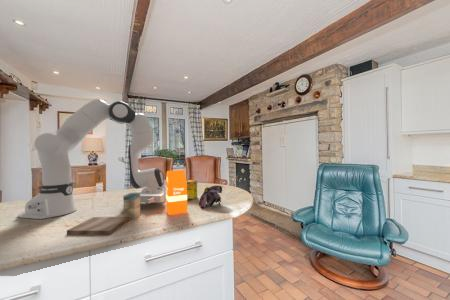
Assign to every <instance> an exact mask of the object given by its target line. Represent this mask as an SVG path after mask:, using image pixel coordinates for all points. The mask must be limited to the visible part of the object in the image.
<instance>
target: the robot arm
mask: <svg viewBox="0 0 450 300" xmlns="http://www.w3.org/2000/svg"><path fill="white" fill-rule="evenodd" d="M105 120H111V121H113V123H116V124H121V125H123V124H126V125H127V126H128V127H129V130H130V133H131V144H129V146H128V163H129V164H128V165H129V166H128V167H129V184H130V186H131V187H132V188H135V189H137V190H138V189H141V188H143V189H142V190H141V191H140V192H129V193H126V194H124V195H123V196H126V195H128V194H140V204H141V203H142V204H143V203H144V204H148V205H149V204H152V203H153V204H154V203H164V202H165V201H166V184H165V176H164V173H163V172H162V170H161V169H160V168H157V167H155V168H154V167H153V168H148V169H143V170H140V166H139V165H140V164H139V163H140V162H139V155H140V154H141V153H142V152H143V151H145V150H146V149H148V148H149V147H151V145H152V144H153V143H154V134H153V130H152V129H153V128H152V126H151V123H150V120H149V118H148V117H147V115H146V114H144V113H141V112H138V113H136V112H135V110H134V109H133V108H132V107H131V106H130V105H129V104H128V103H126V102H125V101H114V102H112V103H111V104H109V103H107V102H106V101H104V100H103V99H100V98H95V99H93V100H91V101H88V102H87V103H85V104H84V105H83V106H81V107H80V108H78V110H76V111H75V112H73V113H72V114H71V115H70V116H69V117H67V118H66V119H65V121H64V122H63V124H61V125H60V127H59V128H58V129H57V130H56V131H47V132H46V131H45V132H44V133H40V134H39V135H38V136H37V137H36V138H35V140H34V142H33V143H34V148H35V149H36V150H37V155H38V158H39V161H40V166H41V175H42V178H41V179H42V180H41V181H42V185H41V186H40V185H39V186H37V187H36V190H37V191H38V190H39V191H38V193H37V194H36V195H35V196H34V197H32V198H31V199H30V200H28V201H27V202H26V203H25V206H24V211H23V212H20V213H18V214H17V218H22V219H24V218H25V219H34V220H35V219H36V220H44V219H48V218H52V217H53V218H54V217H59V216H63V215H67V214H68V215H69V214H71V213H74V212H76V211H77V206H76V204H75V200H74V195H73V192H74V185H73V184H74V183H73V181H72V178H73V177H72V176H73V175H72V165H71V162H70V159H69V157H70V156H69V153H70V152H71V151H72V150H73V149H75V148H76V147H77V146H78V144H79V143H80V142H82V140H83V139H85V137H86V136H88V135H89V133H91V132H92V131H93V130H94V129H96V128H97V127H98V126H100V124H101V123H103V122H104V121H105ZM123 196H122V197H123ZM122 201H123V202H124V197H123V200H122Z"/></svg>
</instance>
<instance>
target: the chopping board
mask: <svg viewBox="0 0 450 300" xmlns="http://www.w3.org/2000/svg"><path fill="white" fill-rule="evenodd" d="M128 222H130V219H129V217H124V216H116V217H115V216H92V217H90V218H88V219H87V220H85V221H83V222H81V223H79V224H77V225H75V226H73V227H71V228H69V229H67V230H66V235H67V236H68V235H69V236H70V235H72V236H73V235H75V236H76V235H77V236H78V235H80V236H83V235H84V236H85V235H87V236H88V235H89V236H98V235H99V236H110V235H111V234H114V232H116V231H117V230H119V229H120V228H122V227H123V226H124V225H126V224H127V223H128Z"/></svg>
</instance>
